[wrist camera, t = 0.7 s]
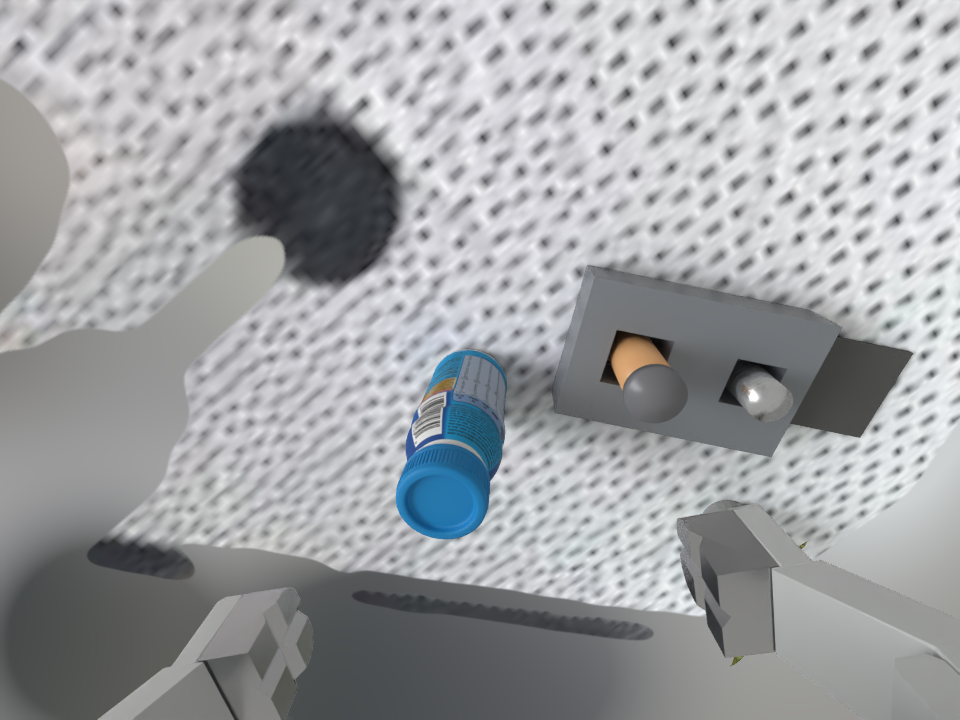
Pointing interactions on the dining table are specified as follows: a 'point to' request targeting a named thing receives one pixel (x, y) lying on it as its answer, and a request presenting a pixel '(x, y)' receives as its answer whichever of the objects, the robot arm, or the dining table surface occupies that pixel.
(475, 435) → the beverage bottle
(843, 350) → the mat
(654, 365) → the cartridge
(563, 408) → the housing
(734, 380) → the plunger
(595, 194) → the dining table surface
